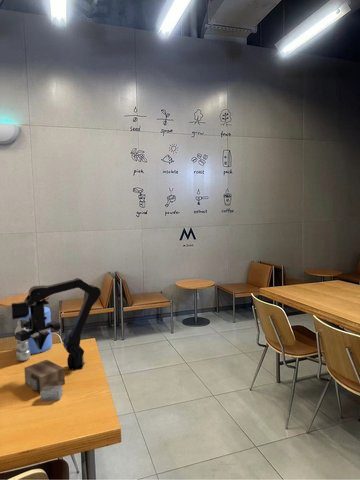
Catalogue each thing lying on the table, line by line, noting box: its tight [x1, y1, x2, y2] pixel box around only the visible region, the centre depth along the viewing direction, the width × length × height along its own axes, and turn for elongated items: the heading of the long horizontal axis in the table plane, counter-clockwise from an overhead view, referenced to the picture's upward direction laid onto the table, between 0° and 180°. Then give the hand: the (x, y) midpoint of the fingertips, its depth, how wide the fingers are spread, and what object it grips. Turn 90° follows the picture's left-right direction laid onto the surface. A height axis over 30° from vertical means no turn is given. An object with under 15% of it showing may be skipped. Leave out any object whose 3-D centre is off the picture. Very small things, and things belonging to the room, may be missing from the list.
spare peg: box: [39, 385, 63, 402], centre depth 129 cm, size 7×4×4 cm, turn 94°
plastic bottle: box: [14, 319, 32, 362], centre depth 164 cm, size 6×7×20 cm
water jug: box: [18, 306, 53, 355], centre depth 178 cm, size 16×16×28 cm
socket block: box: [23, 359, 66, 394], centre depth 140 cm, size 10×14×7 cm
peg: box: [30, 377, 39, 391], centre depth 137 cm, size 7×4×4 cm, turn 141°
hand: (40, 349), depth 147 cm, fingers closed
